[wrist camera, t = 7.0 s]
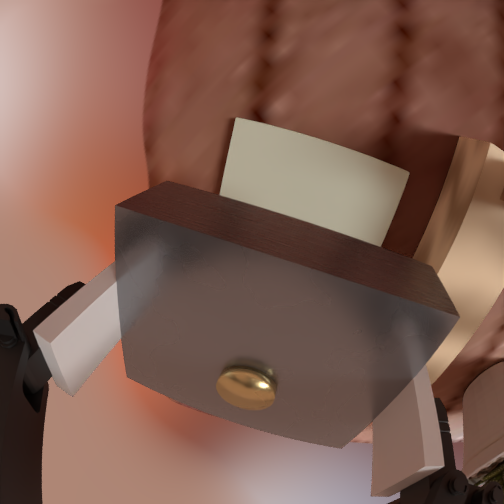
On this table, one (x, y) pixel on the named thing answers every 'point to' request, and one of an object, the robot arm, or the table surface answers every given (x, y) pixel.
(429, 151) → the table surface
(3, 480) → the robot arm
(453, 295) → the body
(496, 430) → the potted plant
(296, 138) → the felt pad
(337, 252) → the grey block with knob
